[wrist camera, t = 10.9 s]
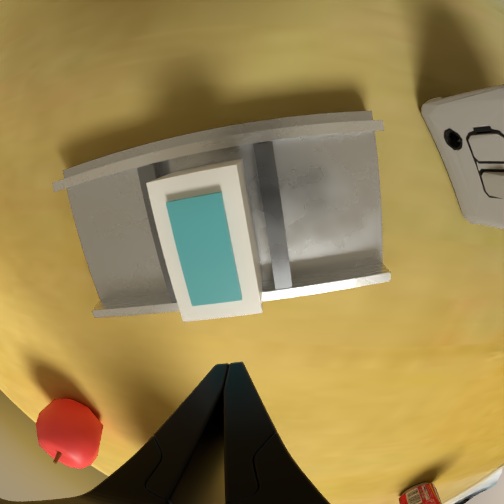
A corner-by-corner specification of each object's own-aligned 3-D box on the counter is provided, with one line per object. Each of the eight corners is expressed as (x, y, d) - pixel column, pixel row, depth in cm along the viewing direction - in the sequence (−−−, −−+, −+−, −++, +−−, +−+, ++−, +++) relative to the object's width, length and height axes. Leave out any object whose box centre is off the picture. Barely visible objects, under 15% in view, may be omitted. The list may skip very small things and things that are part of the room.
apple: (43, 380, 26) (10, 428, 18) (101, 397, 26) (72, 455, 18) (65, 423, 29) (41, 468, 21) (118, 439, 29) (99, 491, 21)
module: (199, 279, 20) (181, 324, 15) (175, 171, 17) (143, 183, 12) (261, 270, 19) (262, 316, 14) (242, 158, 17) (235, 164, 12)
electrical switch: (413, 105, 16) (517, 89, 7) (456, 81, 16) (551, 65, 7) (462, 221, 19) (553, 261, 10) (498, 189, 18) (584, 214, 9)
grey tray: (111, 308, 22) (98, 325, 19) (70, 168, 18) (50, 173, 16) (377, 273, 20) (390, 290, 18) (366, 112, 17) (381, 108, 14)
